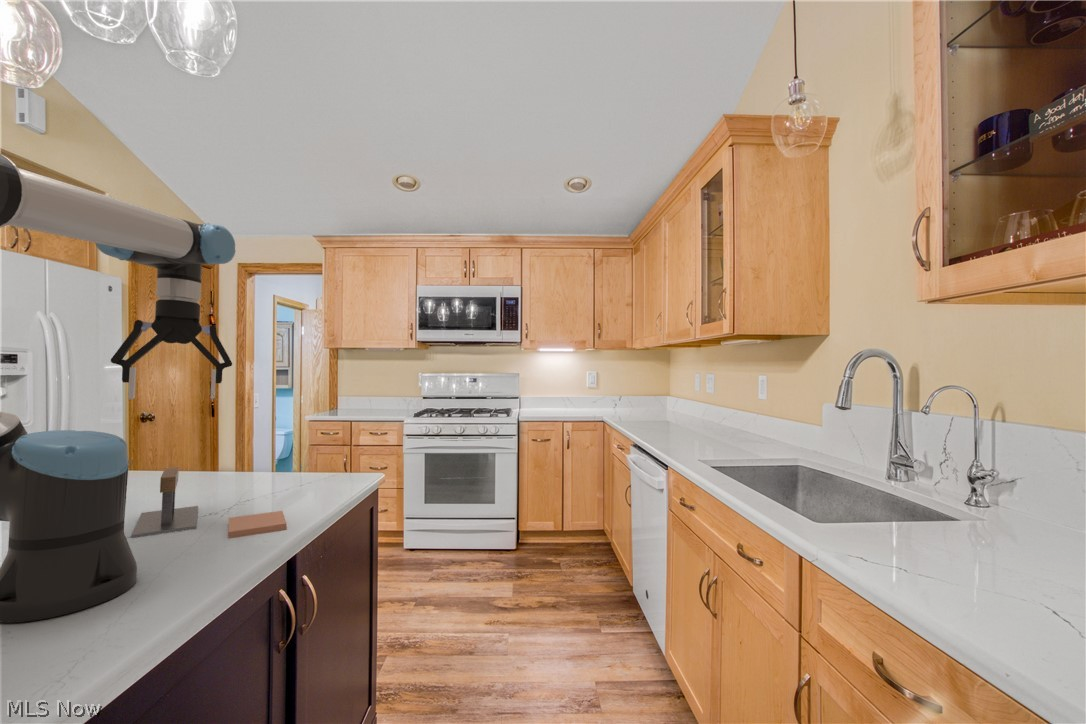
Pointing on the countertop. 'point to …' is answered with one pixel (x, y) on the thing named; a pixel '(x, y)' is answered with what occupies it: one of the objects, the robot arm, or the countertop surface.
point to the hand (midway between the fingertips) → (173, 398)
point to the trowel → (166, 511)
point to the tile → (256, 524)
